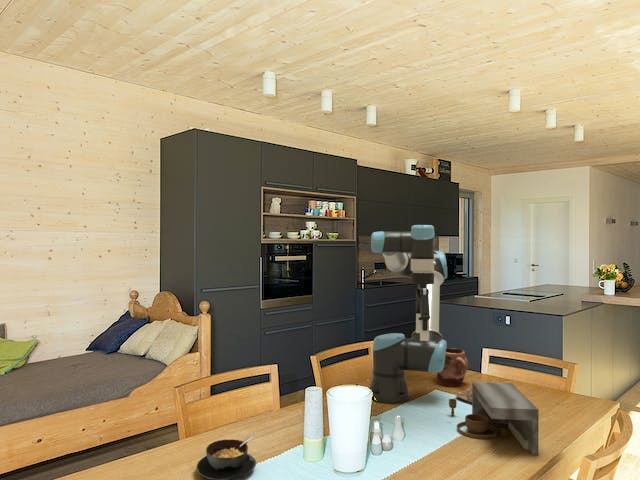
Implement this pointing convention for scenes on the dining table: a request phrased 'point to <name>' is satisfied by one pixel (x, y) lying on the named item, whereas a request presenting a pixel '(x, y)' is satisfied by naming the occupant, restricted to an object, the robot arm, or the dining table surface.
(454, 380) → the decorative planter
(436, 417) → the dining table surface
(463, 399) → the shell
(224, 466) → the soup bowl
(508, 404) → the shelf
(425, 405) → the dining table surface
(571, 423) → the dining table surface
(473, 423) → the place setting
